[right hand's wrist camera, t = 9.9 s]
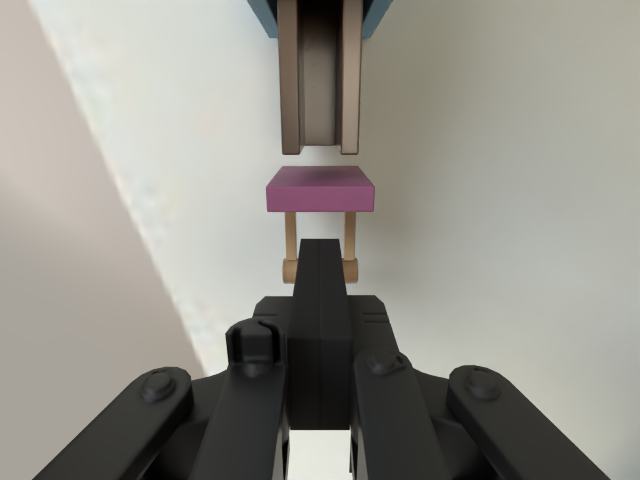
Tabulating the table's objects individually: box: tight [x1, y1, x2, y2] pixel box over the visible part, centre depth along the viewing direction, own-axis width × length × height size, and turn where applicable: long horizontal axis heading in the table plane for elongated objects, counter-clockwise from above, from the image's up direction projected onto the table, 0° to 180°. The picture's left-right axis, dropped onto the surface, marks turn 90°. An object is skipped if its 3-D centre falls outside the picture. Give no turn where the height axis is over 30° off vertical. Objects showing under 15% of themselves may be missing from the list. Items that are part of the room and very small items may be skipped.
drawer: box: [266, 0, 375, 284], centre depth 18 cm, size 25×5×8 cm, turn 0°
